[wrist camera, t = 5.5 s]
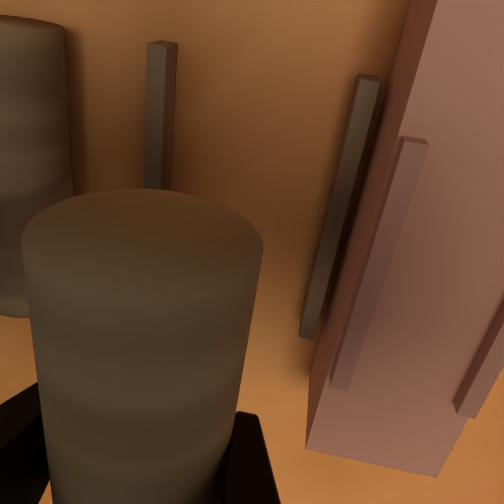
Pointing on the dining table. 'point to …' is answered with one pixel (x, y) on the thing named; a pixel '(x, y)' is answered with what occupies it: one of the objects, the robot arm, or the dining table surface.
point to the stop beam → (421, 253)
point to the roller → (139, 341)
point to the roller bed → (156, 150)
